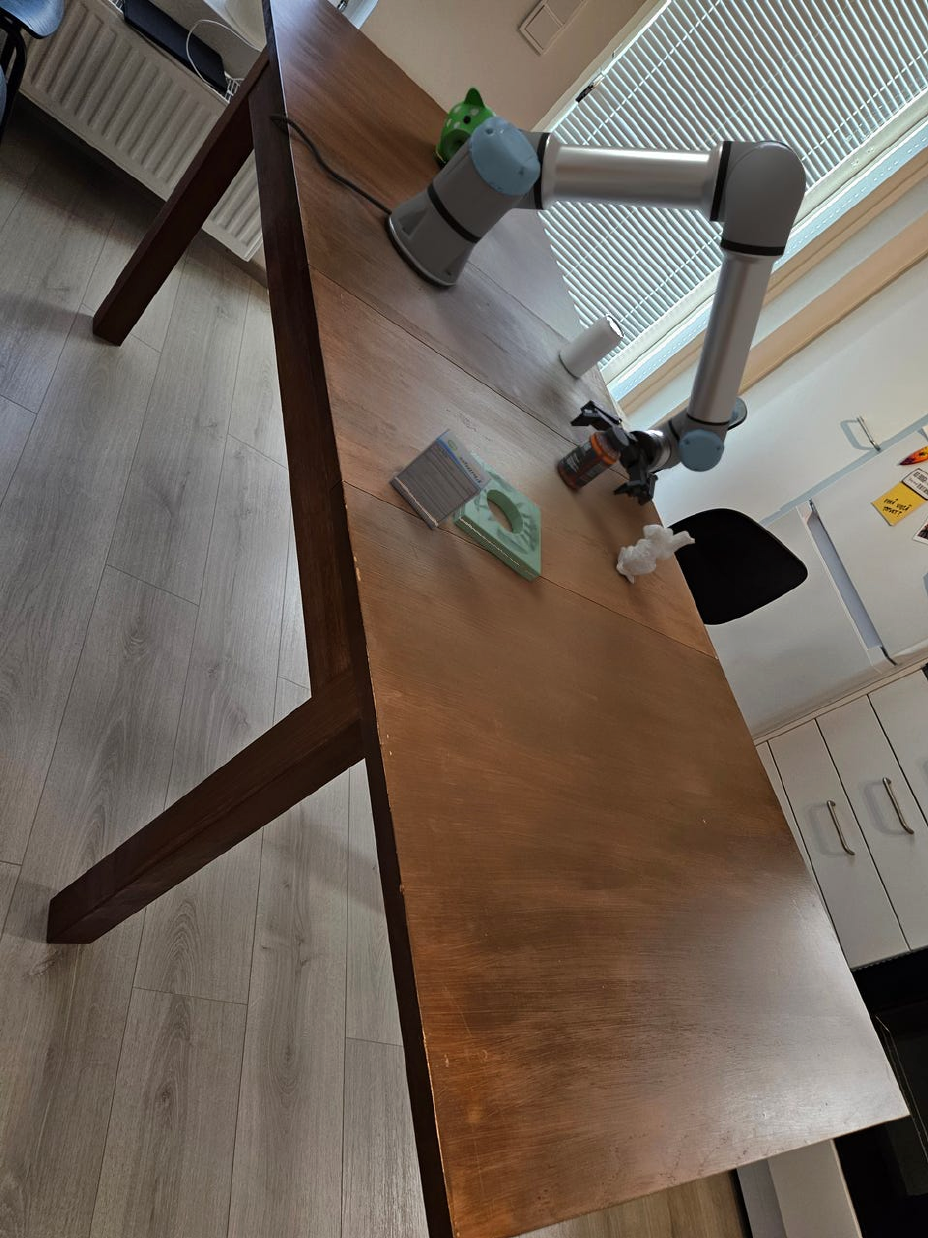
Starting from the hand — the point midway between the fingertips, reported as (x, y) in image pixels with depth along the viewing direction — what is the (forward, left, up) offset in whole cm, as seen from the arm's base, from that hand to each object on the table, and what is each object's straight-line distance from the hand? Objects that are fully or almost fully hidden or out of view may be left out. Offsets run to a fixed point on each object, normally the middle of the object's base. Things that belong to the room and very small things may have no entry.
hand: (598, 453), depth 131 cm
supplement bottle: (0, 0, -7) cm, 7 cm away
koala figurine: (+13, -13, -7) cm, 20 cm away
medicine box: (-29, -34, -7) cm, 45 cm away
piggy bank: (-35, +76, -7) cm, 84 cm away
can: (+2, +40, -7) cm, 40 cm away
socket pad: (-16, -26, -6) cm, 32 cm away
